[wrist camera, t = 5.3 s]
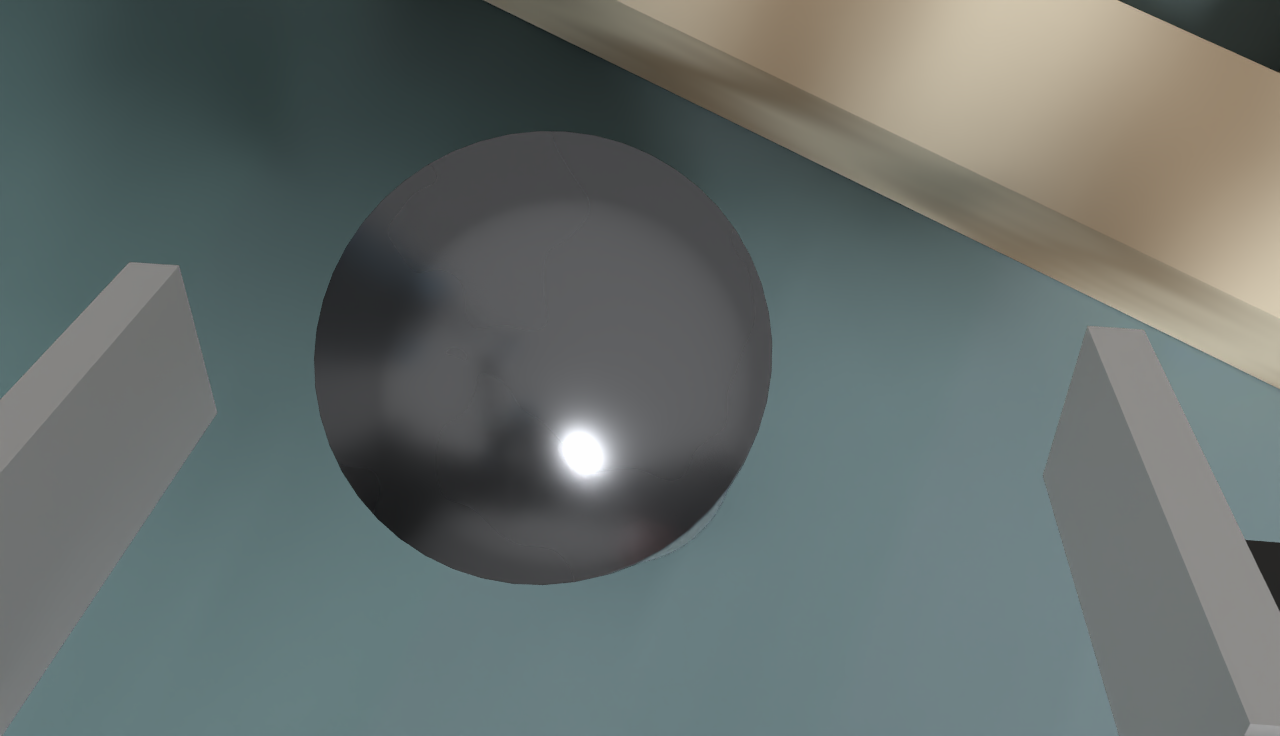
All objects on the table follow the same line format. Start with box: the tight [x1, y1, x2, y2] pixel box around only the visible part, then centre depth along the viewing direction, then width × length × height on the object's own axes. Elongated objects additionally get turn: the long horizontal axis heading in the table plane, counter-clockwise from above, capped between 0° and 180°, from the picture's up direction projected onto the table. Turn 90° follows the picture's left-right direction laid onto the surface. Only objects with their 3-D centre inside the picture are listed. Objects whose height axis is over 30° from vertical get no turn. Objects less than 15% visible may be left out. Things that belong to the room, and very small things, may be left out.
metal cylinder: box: [314, 131, 772, 585], centre depth 17 cm, size 5×5×11 cm
